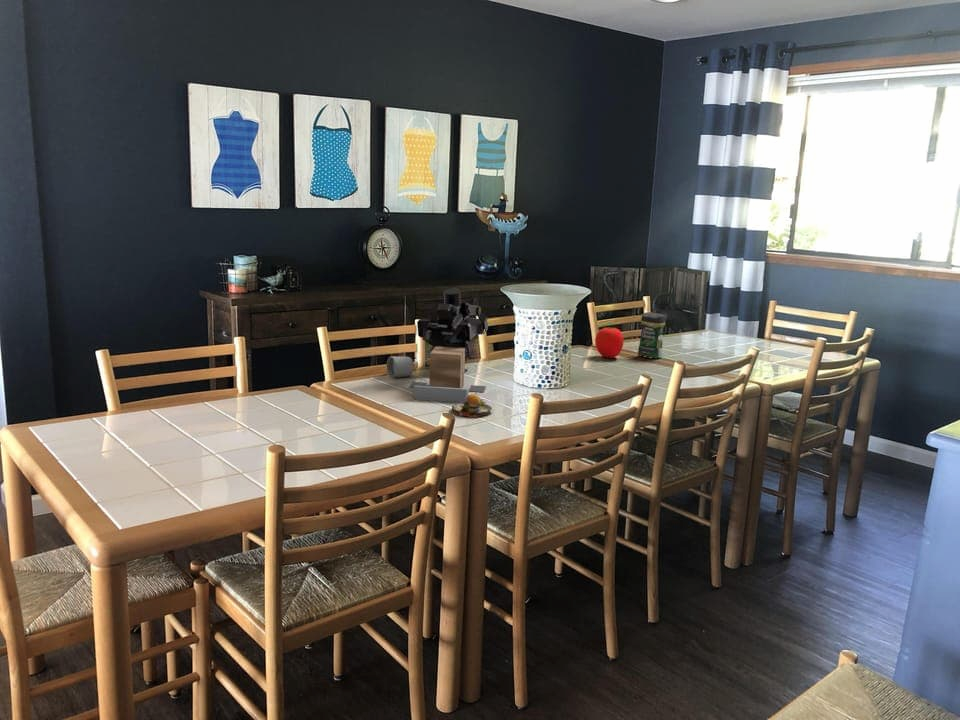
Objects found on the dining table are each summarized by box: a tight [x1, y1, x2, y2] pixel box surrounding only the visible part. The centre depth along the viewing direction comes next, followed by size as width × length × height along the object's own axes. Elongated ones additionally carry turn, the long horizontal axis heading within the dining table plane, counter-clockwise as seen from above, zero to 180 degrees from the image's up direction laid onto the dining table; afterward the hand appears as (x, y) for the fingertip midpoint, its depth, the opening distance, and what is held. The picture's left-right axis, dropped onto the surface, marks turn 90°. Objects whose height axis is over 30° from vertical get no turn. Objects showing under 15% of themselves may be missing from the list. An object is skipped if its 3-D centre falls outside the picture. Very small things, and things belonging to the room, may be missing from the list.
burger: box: [451, 392, 493, 419], centre depth 230 cm, size 12×12×8 cm
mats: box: [408, 381, 487, 393], centre depth 259 cm, size 8×25×1 cm, turn 85°
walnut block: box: [428, 345, 466, 388], centre depth 256 cm, size 12×10×13 cm
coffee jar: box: [637, 311, 666, 359], centre depth 322 cm, size 10×8×19 cm
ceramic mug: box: [386, 356, 415, 379], centre depth 272 cm, size 10×8×7 cm
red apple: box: [594, 326, 624, 359], centre depth 317 cm, size 11×11×13 cm
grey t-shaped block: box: [413, 385, 470, 403], centre depth 246 cm, size 8×16×4 cm, turn 85°
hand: (436, 340), depth 257 cm, fingers open, 9 cm apart
